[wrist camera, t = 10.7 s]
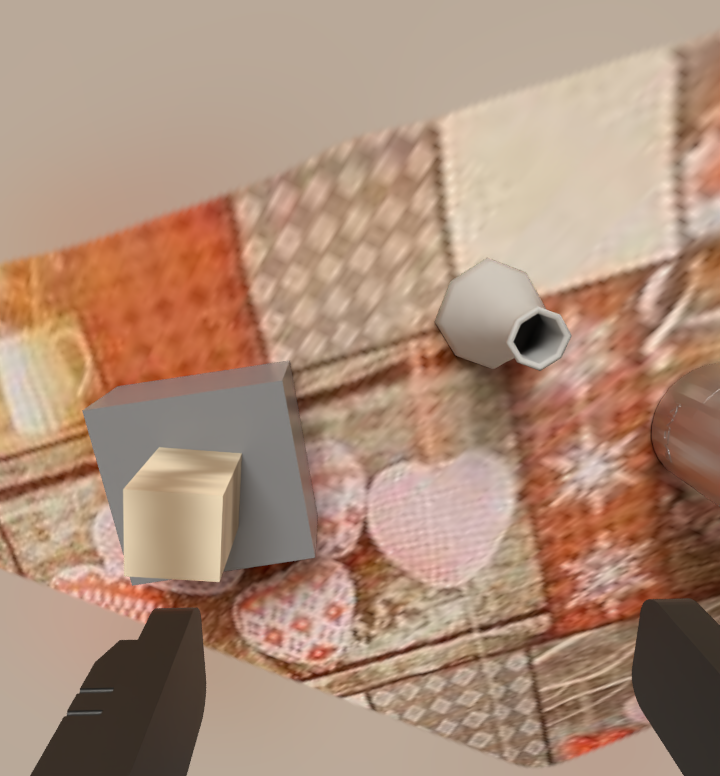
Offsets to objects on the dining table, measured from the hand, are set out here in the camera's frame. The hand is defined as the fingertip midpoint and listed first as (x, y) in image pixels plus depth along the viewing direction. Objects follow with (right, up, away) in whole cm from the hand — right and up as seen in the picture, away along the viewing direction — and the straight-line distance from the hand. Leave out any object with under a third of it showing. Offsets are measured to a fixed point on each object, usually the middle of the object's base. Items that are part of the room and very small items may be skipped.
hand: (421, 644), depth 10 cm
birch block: (-11, -2, +25) cm, 28 cm away
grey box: (-11, 0, +31) cm, 33 cm away
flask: (+8, +10, +29) cm, 32 cm away
